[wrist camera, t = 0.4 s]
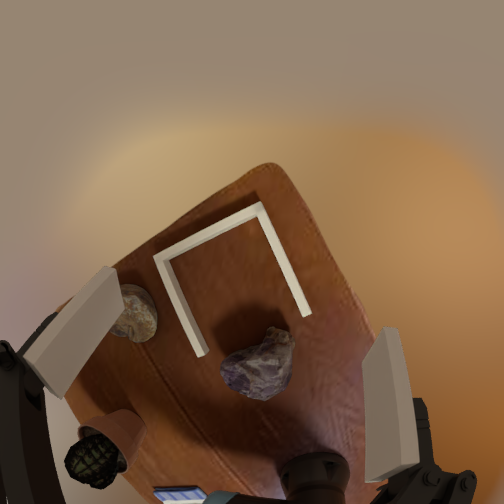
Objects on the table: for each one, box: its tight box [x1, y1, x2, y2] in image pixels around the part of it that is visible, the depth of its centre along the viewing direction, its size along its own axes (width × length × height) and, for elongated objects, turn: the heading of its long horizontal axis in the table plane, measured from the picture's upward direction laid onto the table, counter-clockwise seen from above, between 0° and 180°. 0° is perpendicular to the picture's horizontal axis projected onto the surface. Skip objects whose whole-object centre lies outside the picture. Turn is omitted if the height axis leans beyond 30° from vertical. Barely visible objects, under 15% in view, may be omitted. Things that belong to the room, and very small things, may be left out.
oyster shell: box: [109, 284, 158, 343], centre depth 47 cm, size 11×15×6 cm
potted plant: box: [64, 409, 147, 489], centre depth 38 cm, size 14×14×25 cm
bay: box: [153, 201, 312, 357], centre depth 45 cm, size 20×21×2 cm
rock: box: [220, 326, 295, 401], centre depth 41 cm, size 12×9×10 cm
